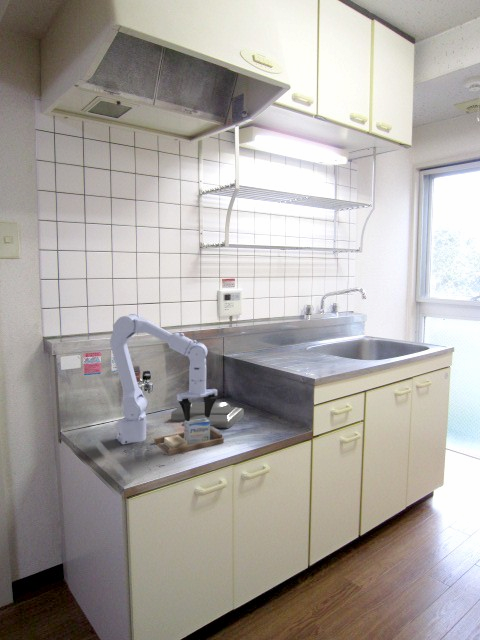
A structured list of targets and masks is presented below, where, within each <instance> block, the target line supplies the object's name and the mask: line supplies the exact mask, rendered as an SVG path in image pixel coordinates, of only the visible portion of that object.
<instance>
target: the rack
mask: <svg viewBox="0 0 480 640" xmlns="http://www.w3.org/2000/svg"><path fill="white" fill-rule="evenodd" d="M175 435H179V436H180V437H182V438H183V439H184V431H183V432H180V433H179V432H178V433H175V434H174V433H173V434H168V435H165V436H158V437H154V441H153V443H154V444H155V445H156V446H158V447H159V448H160V449H161V450H162V451H163V452H164V453H166V454H167V455H168V456H173V455H177V454H183V453H186V452H191V451H196V450H198V449H203V448H208V447H213V446H215V445H216V446H217V445H220V444H224V442H225V441H224V440H225V439H224V437H223V434H222V433H220V432H218V431H217V430H215V429H214V428H212V427H210V440H209V441H204V442H200V443H195V444H190V445H186V446H181V447H177V448H172V449H170V448H169V449H168V450H167V449H166V448H165V447H164V446H163V445H161V444H162V443H164V438H165V437H170V436H175Z"/></svg>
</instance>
